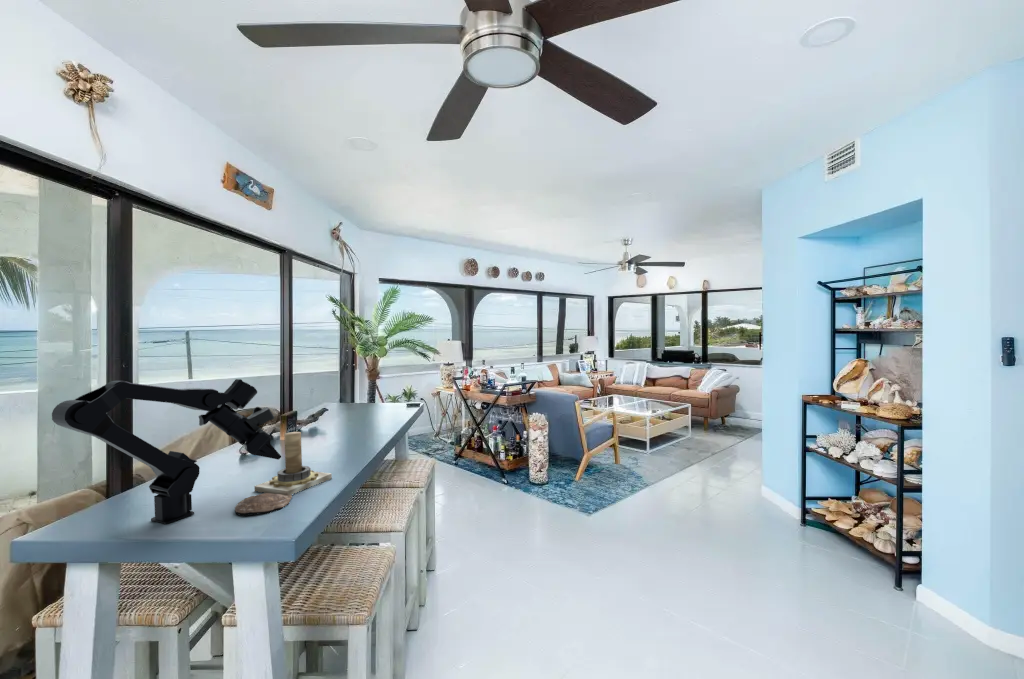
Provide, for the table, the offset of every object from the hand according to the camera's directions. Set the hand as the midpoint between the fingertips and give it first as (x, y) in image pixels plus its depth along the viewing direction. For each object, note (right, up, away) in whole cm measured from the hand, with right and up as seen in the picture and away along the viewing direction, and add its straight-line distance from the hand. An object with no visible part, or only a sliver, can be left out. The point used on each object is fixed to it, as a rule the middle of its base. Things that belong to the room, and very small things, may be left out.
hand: (276, 454), depth 128 cm
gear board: (+4, -10, +3) cm, 11 cm away
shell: (+3, -11, -14) cm, 18 cm away
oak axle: (+4, -7, +3) cm, 9 cm away
